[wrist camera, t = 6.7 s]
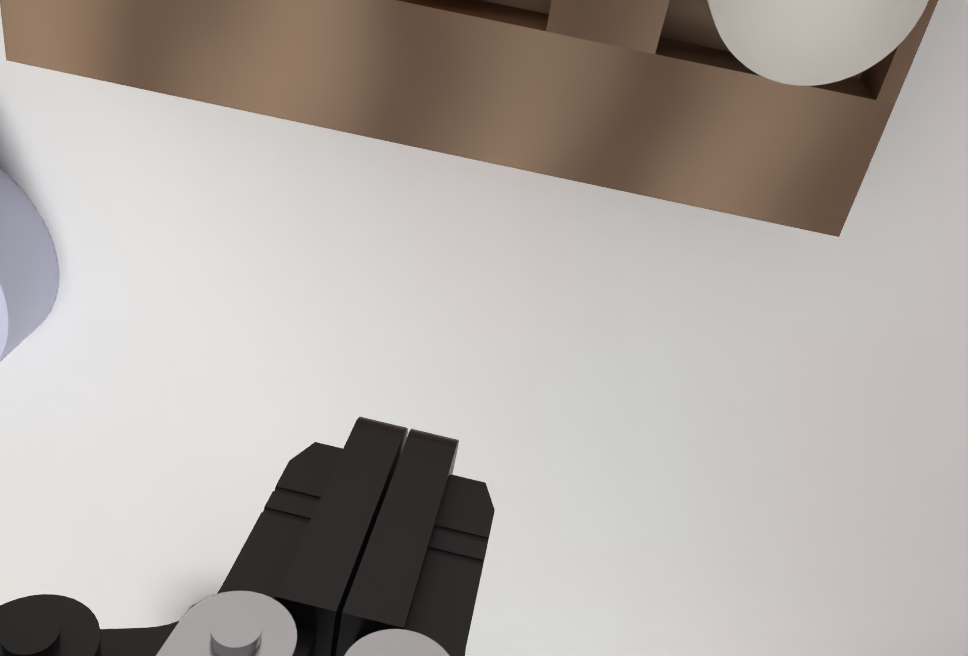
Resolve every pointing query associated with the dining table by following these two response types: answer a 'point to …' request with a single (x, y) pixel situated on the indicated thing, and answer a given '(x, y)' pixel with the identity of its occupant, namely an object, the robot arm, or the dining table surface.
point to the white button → (813, 35)
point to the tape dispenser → (23, 267)
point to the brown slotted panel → (504, 87)
